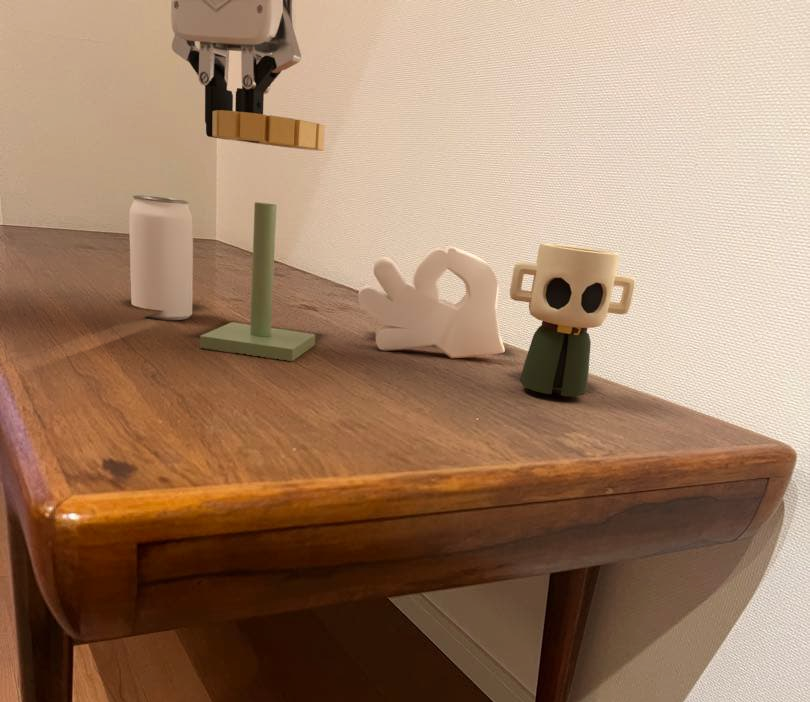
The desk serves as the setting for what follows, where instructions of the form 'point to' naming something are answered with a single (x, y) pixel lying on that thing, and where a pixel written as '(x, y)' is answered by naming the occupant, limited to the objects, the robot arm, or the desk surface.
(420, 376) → the desk surface
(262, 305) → the post
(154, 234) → the can
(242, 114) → the ring
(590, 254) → the character mug
